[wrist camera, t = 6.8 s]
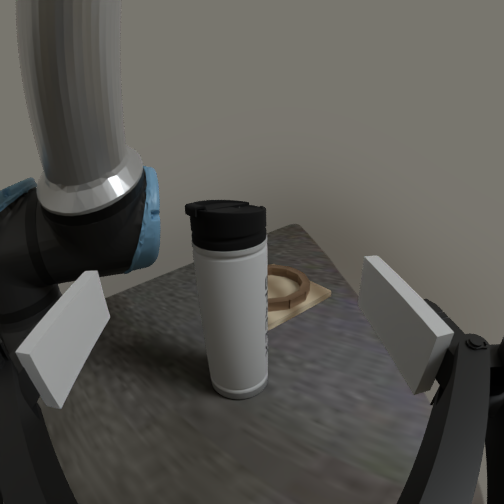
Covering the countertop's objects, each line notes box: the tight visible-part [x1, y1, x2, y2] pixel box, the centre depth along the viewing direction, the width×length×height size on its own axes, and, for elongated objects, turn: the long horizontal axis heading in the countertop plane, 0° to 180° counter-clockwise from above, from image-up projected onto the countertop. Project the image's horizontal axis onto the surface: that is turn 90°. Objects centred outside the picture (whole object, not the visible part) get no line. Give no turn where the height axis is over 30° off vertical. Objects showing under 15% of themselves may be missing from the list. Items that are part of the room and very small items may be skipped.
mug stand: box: [267, 264, 331, 330], centre depth 48 cm, size 14×14×2 cm
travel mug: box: [185, 200, 268, 399], centre depth 27 cm, size 6×7×20 cm
